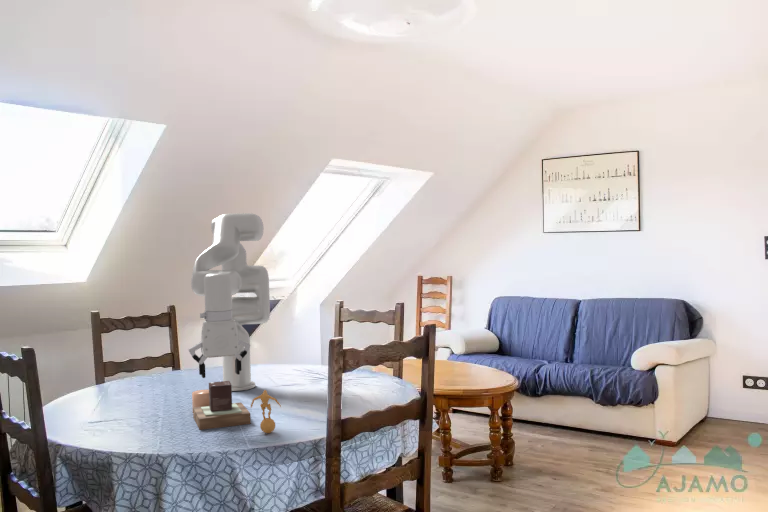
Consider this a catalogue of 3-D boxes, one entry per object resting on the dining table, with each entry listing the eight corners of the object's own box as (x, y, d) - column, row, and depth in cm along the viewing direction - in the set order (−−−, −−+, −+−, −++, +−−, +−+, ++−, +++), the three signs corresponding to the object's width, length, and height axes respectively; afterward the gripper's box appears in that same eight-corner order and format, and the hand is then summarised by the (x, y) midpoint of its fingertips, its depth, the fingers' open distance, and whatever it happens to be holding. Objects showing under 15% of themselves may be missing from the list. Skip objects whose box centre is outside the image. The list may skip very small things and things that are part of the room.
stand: (193, 417, 202) (193, 406, 202) (241, 412, 208) (241, 401, 207) (199, 429, 189) (199, 417, 189) (250, 423, 195) (250, 411, 195)
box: (232, 410, 197) (231, 384, 196) (210, 412, 195) (210, 386, 194) (230, 405, 202) (229, 380, 202) (209, 407, 200) (208, 382, 200)
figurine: (284, 430, 187) (283, 386, 187) (279, 437, 181) (278, 391, 181) (254, 430, 188) (253, 386, 187) (248, 437, 182) (247, 391, 181)
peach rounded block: (191, 410, 211) (190, 390, 211) (214, 407, 214) (214, 388, 214) (194, 415, 205) (193, 395, 205) (218, 413, 207) (217, 393, 207)
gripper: (189, 320, 191) (191, 381, 192) (251, 315, 197) (253, 375, 199) (186, 316, 198) (188, 375, 199) (246, 312, 204) (248, 369, 206)
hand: (220, 375), depth 199 cm, fingers open, 9 cm apart
